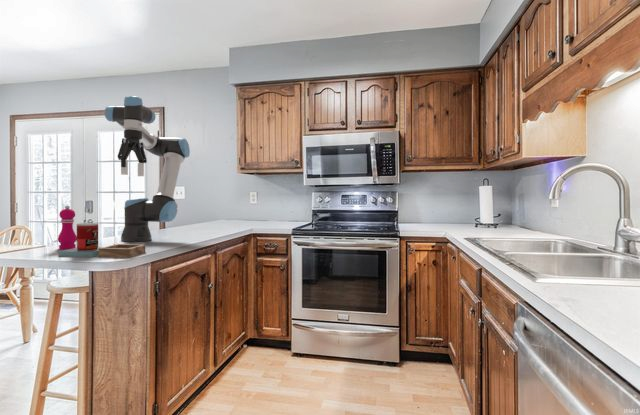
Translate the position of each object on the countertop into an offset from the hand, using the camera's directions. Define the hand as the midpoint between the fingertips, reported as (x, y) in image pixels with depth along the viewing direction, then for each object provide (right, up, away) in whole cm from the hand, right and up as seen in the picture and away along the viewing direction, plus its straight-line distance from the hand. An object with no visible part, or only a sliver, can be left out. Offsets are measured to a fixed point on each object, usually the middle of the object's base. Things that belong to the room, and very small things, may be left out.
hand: (132, 175), depth 166 cm
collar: (+4, -35, -15) cm, 39 cm away
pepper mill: (-29, -34, -3) cm, 45 cm away
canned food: (-11, -33, -15) cm, 38 cm away
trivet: (-11, -35, -15) cm, 40 cm away
